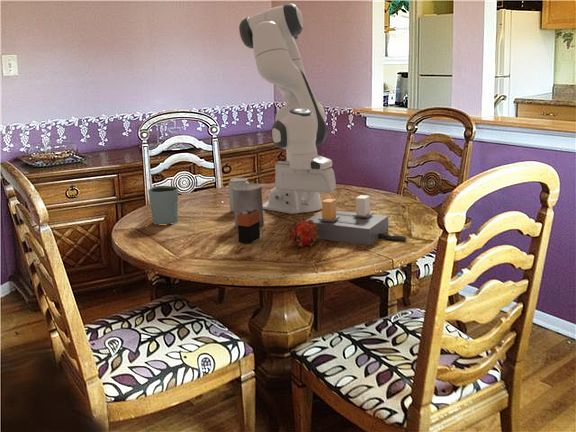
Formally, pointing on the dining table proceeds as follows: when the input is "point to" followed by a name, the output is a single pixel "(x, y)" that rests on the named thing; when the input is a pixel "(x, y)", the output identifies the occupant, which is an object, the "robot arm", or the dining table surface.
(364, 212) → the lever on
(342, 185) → the dining table surface
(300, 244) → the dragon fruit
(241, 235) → the battery
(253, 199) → the pillar candle
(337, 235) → the breaker strip
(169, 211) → the grey bin
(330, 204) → the orange block
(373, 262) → the dining table surface
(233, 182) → the can
